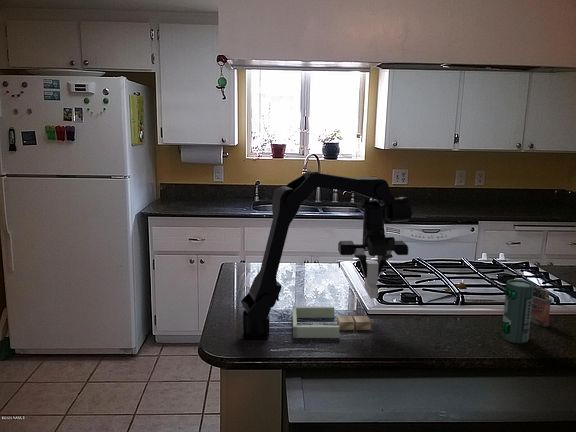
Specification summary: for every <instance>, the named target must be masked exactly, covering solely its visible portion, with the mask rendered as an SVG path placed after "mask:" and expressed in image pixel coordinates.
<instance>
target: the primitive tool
mask: <svg viewBox="0 0 576 432" xmlns="http://www.w3.org/2000/svg"><path fill="white" fill-rule="evenodd" d="M455 286H456V287H457V288H459V289H467V290H468V287H467V285H466V284H465V283H464V282H459V283H458V284H456V285H455ZM442 290H445V292H447V291H450V287H447V288H443V289H442Z"/></svg>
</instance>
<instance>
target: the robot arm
mask: <svg viewBox="0 0 576 432" xmlns="http://www.w3.org/2000/svg"><path fill="white" fill-rule="evenodd" d="M317 188H323V189H329V190H334V191H335V190H337V191H343V192H350V193H355V194H358V195H361V196H363V197H366V198H362V199H361V200H360V201H359V202H358V203H357V204H355V205H356V207H357V208H360V209H363V222H362V224H363V225H362V243H360V244H359V243H357V244H356V243H354V242H353V240H339V242H338V243H337V250H338V252H339V254H340V255H341V256H354V258H357V259H358V260H359V262H360V266H361V270H362V273H363V276H364V279H365V278H367V266H366V261H367V255H366V254H365V252H368V255H369V256H371V257H376V261H377V262H378V279H379V277H380V275H381V272H382V270H383V268H384V266H385V264H386V262H387V261H388V260H389V259H392V258H393V257H394V256H393V255H392V252H394V253H395V254H396V255H397V256H408V255H409V246H408V245H407V244H406V243H405V241H403V240H396V239H395V237H393V236H386V235H385V233H386V232H385V220H386V221H387V223H399V222H401V223H402V222H409V221H410V220H411V219H412V216H413V210H412V206H411V205H410V204H411V203H409V198H408V197H406V196H399V197H394V195H393V194H392V193H393V192H391V190H390V185H389V183H388V181H387V180H385V179H383V178H378V177H375V176H374V177H373V176H361V177H350V176H349V177H348V176H341V175H335V174H329V173H325V172H324V173H323V172H318V171H314V170H307V171H306V172H304V173H303V174H302V175H301V176H299V177H297V178H296V179H294V180H291V181H290V182H289V183H287V184H285V186H284V185H283V186H279V187H278V188H276V189H275V190H274V192H273V194H272V200H271V201H272V202H271V203H272V204H271V211H272V222H271V226H270V229H269V234H268V238H267V242H266V245H265V249H264V253H263V257H262V261H261V266H260V269H259V271H258V273H257V274H256V276H255V277H254V279H253V280H252V283H251V285H250V287H249V291H248V293H247V294H246V295H245V296H244V297H243V298H242V299H241V300H240V303H241V306H242V308H243V309H244V310H243V312H242V336H241V337H242V338H241V339H242V340H267V339H268V335H269V334H270V332H271V329H270V328H271V327H270V324H271V323H270V321H271V320H270V318H271V317H270V312H271V309H272V308H274V306H275V305H276V303H277V302H279V301H280V299H279V297H280V293H281V290H282V284H280V282H279V281H278V279H277V274H278V271H279V268H280V263H281V259H282V255H283V251H284V247H285V244H286V240H287V236H288V233H289V228H290V225H291V223H292V221H294V219H295V218H296V216H297V214H298V212H299V210H300V207H301V206H302V203H303V202H304V201H305V200H306V199H308V198H309V197H310V195H311V194H313V191H315V189H317ZM367 198H370V199H373V200H369V201H368V199H367ZM379 201H380V202H382V203H379Z"/></svg>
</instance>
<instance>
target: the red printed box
mask: <svg viewBox="0 0 576 432" xmlns="http://www.w3.org/2000/svg"><path fill="white" fill-rule="evenodd" d="M549 296H550V291H549V290H547V289H545V288H541V286H539V285H538V286H535V285H534V292H533V302H532V311H531V320H530V323H533V324H535V325H538V326H541V327H549V326H550V313H551V311H550V310H551V304H552V299H551V298H550V297H549Z"/></svg>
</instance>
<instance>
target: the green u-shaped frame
mask: <svg viewBox="0 0 576 432" xmlns="http://www.w3.org/2000/svg"><path fill="white" fill-rule="evenodd" d="M299 318H300V319H303V318H304V319H305V318H306V319H308V318H309V319H310V318H311V319H313V318H314V319H316V318H317V319H319V318H320V319H321V318H322V319H324V318H325V319H328V318H329V319H332V318H333V319H335V306H292V338H293V339H339V338H340V330H339V326H338V325H298V321H297V320H298V319H299Z"/></svg>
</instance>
